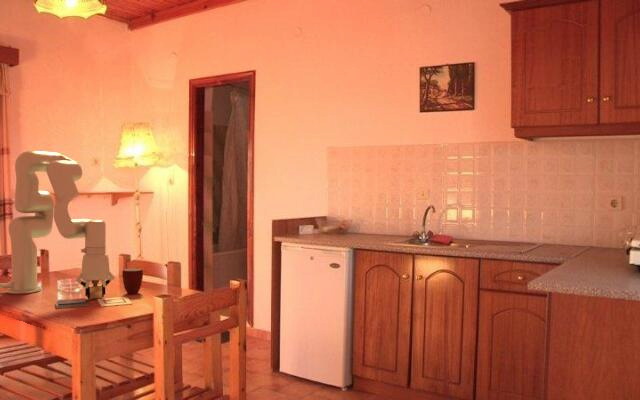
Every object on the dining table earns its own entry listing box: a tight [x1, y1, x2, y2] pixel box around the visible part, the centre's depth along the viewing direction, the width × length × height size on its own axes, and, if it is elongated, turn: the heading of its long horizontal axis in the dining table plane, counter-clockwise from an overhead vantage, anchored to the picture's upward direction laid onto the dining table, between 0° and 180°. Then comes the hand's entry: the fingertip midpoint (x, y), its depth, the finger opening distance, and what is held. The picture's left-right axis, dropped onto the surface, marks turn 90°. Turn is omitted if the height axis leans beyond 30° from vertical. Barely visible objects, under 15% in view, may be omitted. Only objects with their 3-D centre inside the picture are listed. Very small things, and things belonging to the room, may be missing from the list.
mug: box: [121, 267, 144, 295], centre depth 235 cm, size 10×8×10 cm
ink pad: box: [54, 297, 90, 310], centre depth 211 cm, size 11×9×2 cm
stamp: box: [88, 280, 103, 301], centre depth 223 cm, size 4×4×9 cm
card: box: [96, 296, 133, 308], centre depth 217 cm, size 11×14×1 cm
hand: (95, 296), depth 222 cm, fingers closed on stamp, 4 cm apart
